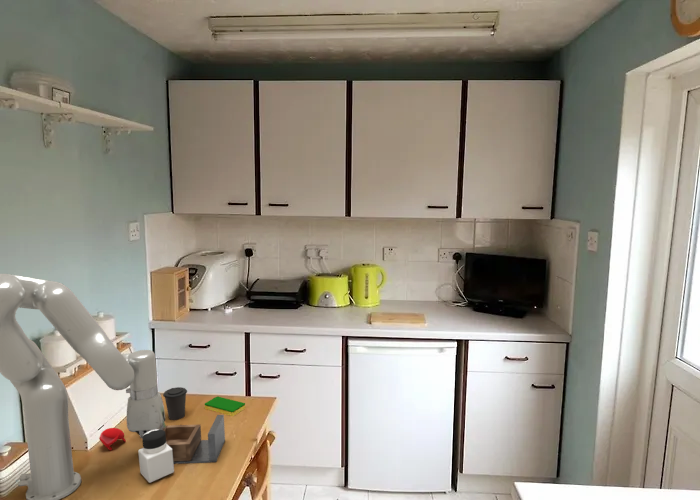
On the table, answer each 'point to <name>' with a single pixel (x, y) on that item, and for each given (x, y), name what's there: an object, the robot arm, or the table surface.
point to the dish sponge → (225, 406)
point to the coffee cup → (175, 402)
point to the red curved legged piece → (111, 436)
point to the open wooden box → (183, 440)
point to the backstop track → (209, 444)
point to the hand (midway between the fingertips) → (149, 448)
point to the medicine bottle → (155, 456)
